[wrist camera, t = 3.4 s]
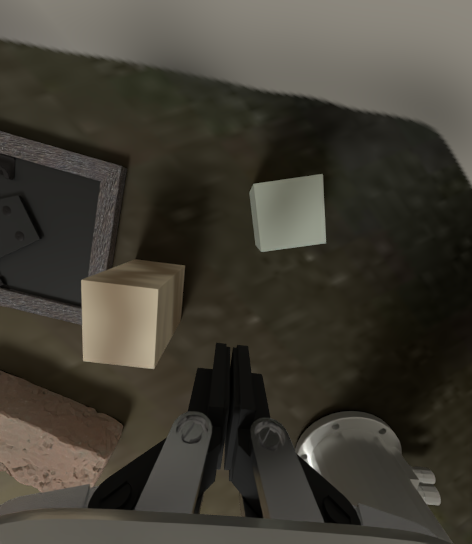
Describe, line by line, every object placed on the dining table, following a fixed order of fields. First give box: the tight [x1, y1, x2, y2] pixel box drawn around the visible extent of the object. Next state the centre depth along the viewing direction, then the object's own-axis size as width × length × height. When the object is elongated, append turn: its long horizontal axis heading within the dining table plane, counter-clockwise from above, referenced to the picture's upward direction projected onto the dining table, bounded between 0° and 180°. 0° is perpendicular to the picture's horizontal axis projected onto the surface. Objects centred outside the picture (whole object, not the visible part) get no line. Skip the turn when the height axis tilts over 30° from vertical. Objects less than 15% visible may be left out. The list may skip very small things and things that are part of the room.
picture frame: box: [0, 131, 127, 325], centre depth 21 cm, size 16×2×21 cm
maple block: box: [81, 259, 185, 369], centre depth 19 cm, size 5×6×8 cm
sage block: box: [249, 174, 326, 252], centre depth 19 cm, size 5×5×5 cm
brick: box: [0, 371, 123, 493], centre depth 25 cm, size 17×8×5 cm, turn 60°
